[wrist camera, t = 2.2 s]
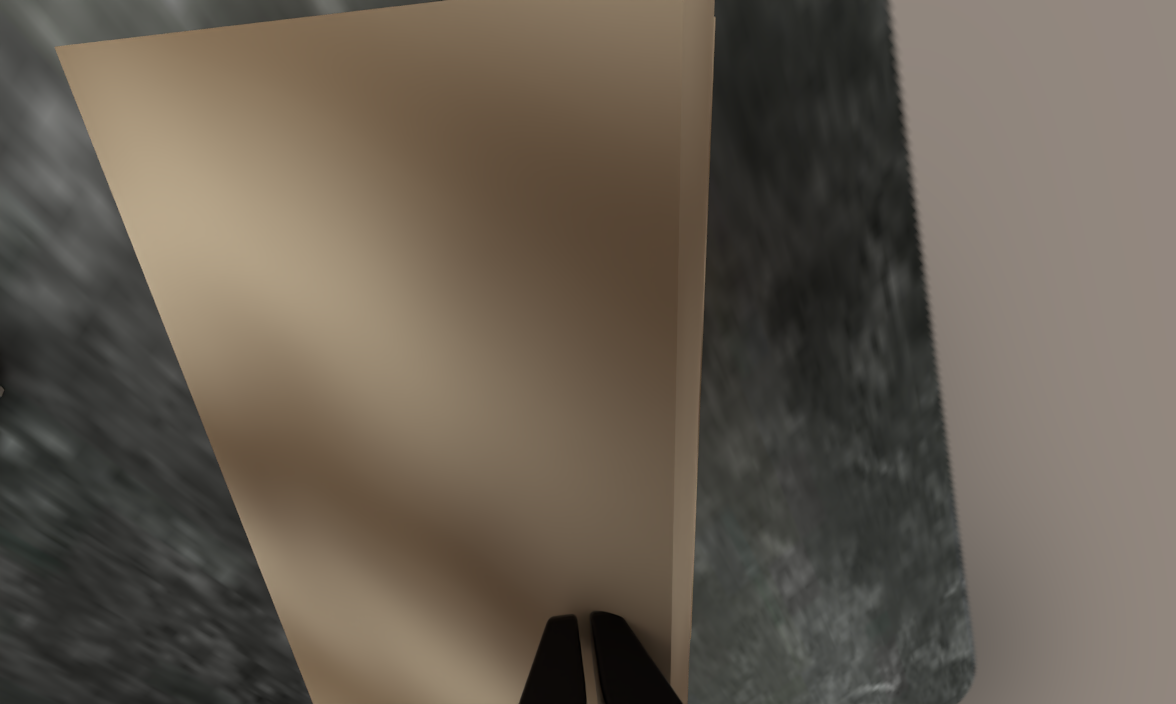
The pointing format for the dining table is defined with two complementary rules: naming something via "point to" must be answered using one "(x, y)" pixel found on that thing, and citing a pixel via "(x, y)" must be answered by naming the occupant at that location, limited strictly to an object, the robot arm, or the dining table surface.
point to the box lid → (434, 316)
